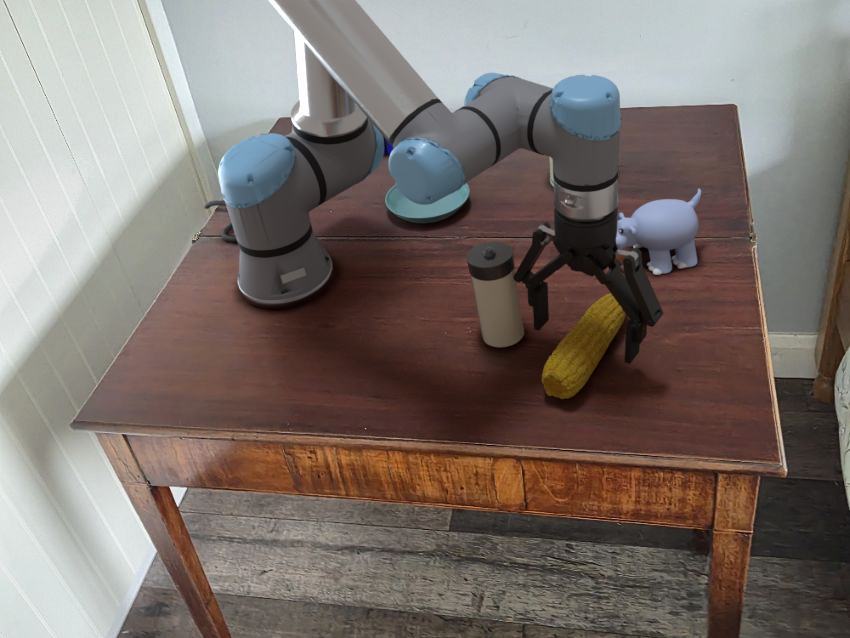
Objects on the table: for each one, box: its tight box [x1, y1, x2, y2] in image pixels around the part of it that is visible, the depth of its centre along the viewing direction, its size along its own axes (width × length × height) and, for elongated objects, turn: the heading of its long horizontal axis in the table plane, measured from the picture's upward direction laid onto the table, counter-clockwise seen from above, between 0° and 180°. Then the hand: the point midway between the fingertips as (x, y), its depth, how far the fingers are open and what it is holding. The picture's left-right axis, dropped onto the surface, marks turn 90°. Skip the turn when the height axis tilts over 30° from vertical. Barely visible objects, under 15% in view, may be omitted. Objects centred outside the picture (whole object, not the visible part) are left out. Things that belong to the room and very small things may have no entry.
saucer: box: [384, 182, 470, 224], centre depth 155 cm, size 15×15×3 cm
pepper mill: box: [466, 241, 525, 348], centre depth 122 cm, size 6×6×15 cm
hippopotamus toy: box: [616, 188, 702, 276], centre depth 134 cm, size 11×15×10 cm
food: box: [541, 293, 627, 400], centre depth 120 cm, size 21×6×6 cm, turn 149°
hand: (585, 340), depth 120 cm, fingers open, 13 cm apart
